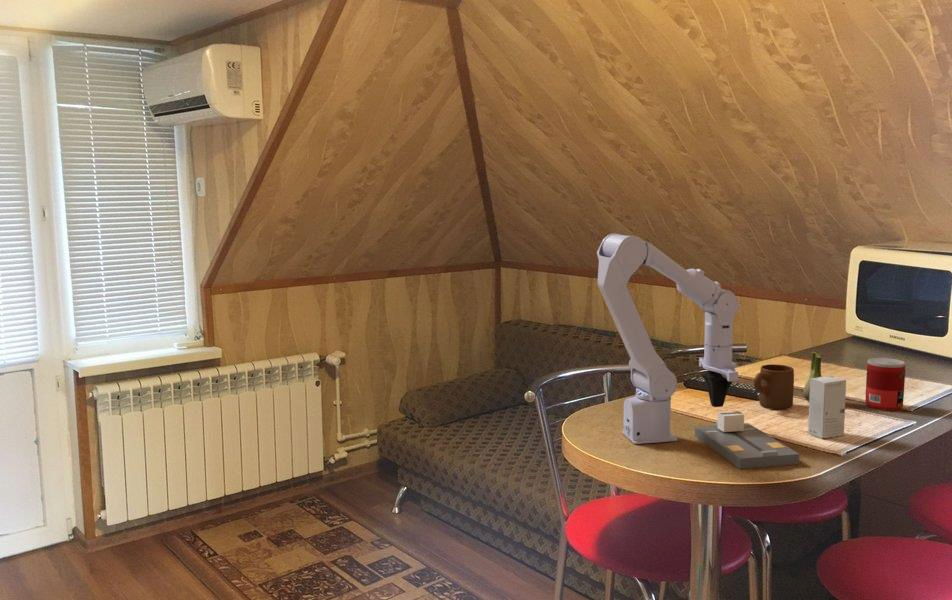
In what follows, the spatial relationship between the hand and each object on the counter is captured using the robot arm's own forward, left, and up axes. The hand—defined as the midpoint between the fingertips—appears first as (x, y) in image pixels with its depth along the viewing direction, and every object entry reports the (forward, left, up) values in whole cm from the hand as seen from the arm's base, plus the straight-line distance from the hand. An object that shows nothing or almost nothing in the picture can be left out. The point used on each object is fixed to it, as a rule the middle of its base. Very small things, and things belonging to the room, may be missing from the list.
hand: (717, 406), depth 170 cm
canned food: (+46, +8, -6) cm, 47 cm away
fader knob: (0, -7, -3) cm, 7 cm away
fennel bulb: (+33, +16, -6) cm, 37 cm away
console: (0, -13, -5) cm, 14 cm away
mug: (+20, +13, -6) cm, 25 cm away
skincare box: (+21, -8, -6) cm, 23 cm away
